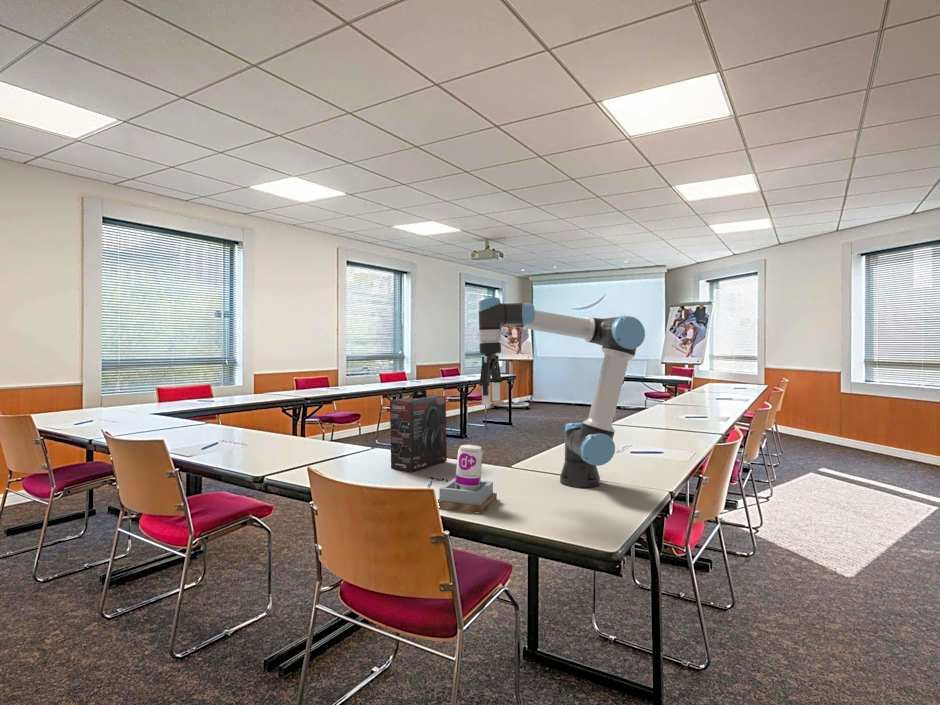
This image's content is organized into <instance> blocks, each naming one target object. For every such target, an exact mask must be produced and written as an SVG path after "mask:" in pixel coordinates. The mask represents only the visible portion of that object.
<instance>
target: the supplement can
mask: <svg viewBox="0 0 940 705" xmlns="http://www.w3.org/2000/svg"><path fill="white" fill-rule="evenodd" d="M483 456H484V452H483V449H482V446H480V445H475V444H460V446H459V448H458V450H457V459H456V460H457V461H456V471H455V478H456V481H455V489H463V490H473V491H478V490H480V481H482V480H481V477H482V466H483Z"/></svg>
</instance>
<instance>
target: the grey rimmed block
mask: <svg viewBox="0 0 940 705" xmlns="http://www.w3.org/2000/svg"><path fill="white" fill-rule="evenodd" d="M455 481H456V477H454V478H453V479H451V480H450V481H448V482H447V483H446V484H444V485H443V486H441V487H440V488H439V501H446V502H455V503H464V504H473V505H482V504H483V503H484V502H485V501H486V500H487V499H488V498H489V497H490V496H491V495H492V494H493V493H494V482H493V481H487V480H480V490H478V491H473V490H463V489H455Z"/></svg>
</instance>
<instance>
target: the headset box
mask: <svg viewBox="0 0 940 705" xmlns="http://www.w3.org/2000/svg"><path fill="white" fill-rule="evenodd" d="M446 398H447V396H446V395H437V394H427V389H426V388H425V389H418V390H413V393H412V396H411V397H402V398H395V399H390V400H389V418H390V420H389V422H390V424H389V426H390V429H389V430H390V469H392V470H398V471H405V472H410V473H412V472H416V471H419V470H421V469H425V468H427V467H428V468H429V467H432V466H436V465H438V464H441V463H445V462H447V461H448V460H447V452H448V451H447V450H448V449H447V405H446V404H447V399H446Z"/></svg>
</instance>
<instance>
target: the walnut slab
mask: <svg viewBox="0 0 940 705" xmlns="http://www.w3.org/2000/svg"><path fill="white" fill-rule="evenodd" d="M497 496H498V494H497V492H493V494H492V495H491V496H490V497H489V498H488V499H487V500H486V501H485V502H484V503H483V504H482V505H473V504H464V503H455V502H446V501H439V499H437V500H438V503H439V506H440V509H441V508H442V510H448V509H450V510H449V511H457V510H460V511H459V512H465V511H469V512H468V513H474V512H479V513H478V514H484V513H485V512H486V511H487V510H488V509H489V508H490V507H491V506H490V505H491V504H492V503H493V502H494V501H495V500H496V499H497V500H498V497H497ZM497 500H496V501H497ZM496 501H495V502H496ZM495 502H494V503H495ZM494 503H493V504H494ZM493 504H492V505H493ZM489 506H490V507H489ZM488 507H489V508H488ZM487 508H488V509H487ZM486 509H487V510H486ZM485 510H486V511H485ZM484 511H485V512H484ZM483 512H484V513H483Z"/></svg>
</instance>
